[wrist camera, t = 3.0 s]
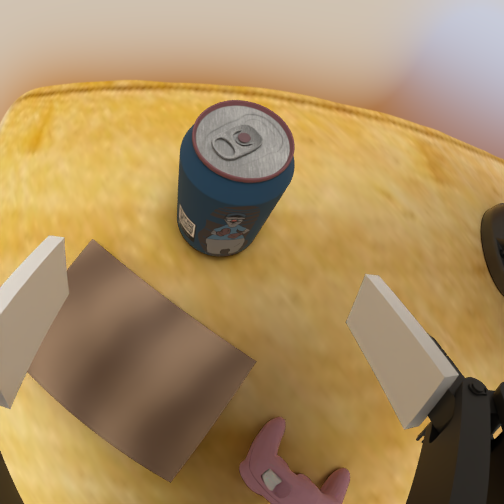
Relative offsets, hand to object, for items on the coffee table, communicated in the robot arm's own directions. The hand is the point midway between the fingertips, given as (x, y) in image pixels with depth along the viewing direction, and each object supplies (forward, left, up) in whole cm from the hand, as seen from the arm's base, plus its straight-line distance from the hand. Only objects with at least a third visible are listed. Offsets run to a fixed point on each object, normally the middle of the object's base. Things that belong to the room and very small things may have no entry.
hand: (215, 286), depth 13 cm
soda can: (+4, -8, -13) cm, 15 cm away
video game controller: (-13, +7, -13) cm, 20 cm away
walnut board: (+3, +6, -13) cm, 14 cm away
